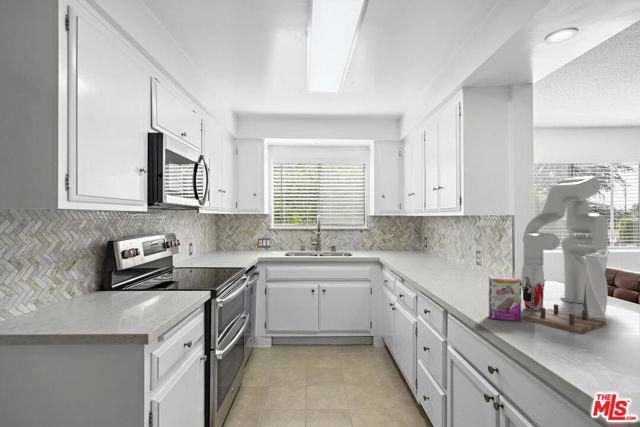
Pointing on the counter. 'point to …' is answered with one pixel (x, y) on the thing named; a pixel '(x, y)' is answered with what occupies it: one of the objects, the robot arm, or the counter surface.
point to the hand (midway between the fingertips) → (533, 299)
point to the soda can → (535, 298)
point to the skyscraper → (596, 285)
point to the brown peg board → (565, 320)
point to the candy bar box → (505, 298)
